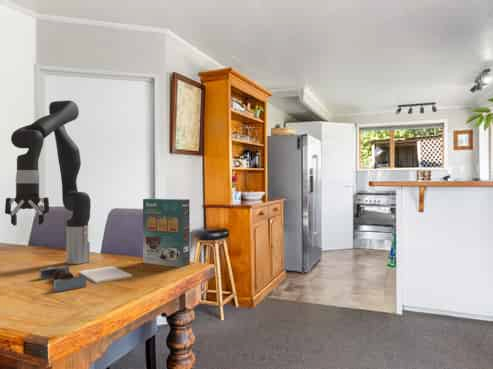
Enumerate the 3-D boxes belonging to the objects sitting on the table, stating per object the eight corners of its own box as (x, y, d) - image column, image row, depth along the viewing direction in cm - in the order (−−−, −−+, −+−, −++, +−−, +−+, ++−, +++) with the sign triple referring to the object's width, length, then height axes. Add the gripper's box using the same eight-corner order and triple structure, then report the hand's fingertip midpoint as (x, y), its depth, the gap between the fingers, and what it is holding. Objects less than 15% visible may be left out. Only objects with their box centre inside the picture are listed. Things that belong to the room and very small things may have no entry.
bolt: (59, 283, 141) (69, 290, 129) (47, 278, 138) (55, 285, 126) (67, 269, 143) (77, 275, 131) (55, 264, 140) (64, 270, 128)
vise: (62, 271, 151) (62, 263, 151) (86, 286, 129) (86, 276, 129) (36, 275, 145) (36, 266, 145) (55, 292, 122) (55, 282, 122)
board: (112, 267, 157) (112, 266, 157) (131, 276, 142) (131, 274, 142) (78, 273, 148) (78, 271, 148) (95, 283, 133) (95, 281, 133)
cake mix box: (189, 264, 164) (189, 199, 164) (182, 267, 159) (181, 199, 159) (151, 260, 173) (151, 198, 173) (143, 262, 168) (143, 199, 168)
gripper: (50, 182, 141) (50, 223, 141) (9, 182, 137) (9, 224, 137) (46, 182, 134) (46, 225, 134) (2, 182, 130) (2, 226, 130)
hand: (27, 224), depth 136 cm, fingers open, 8 cm apart
